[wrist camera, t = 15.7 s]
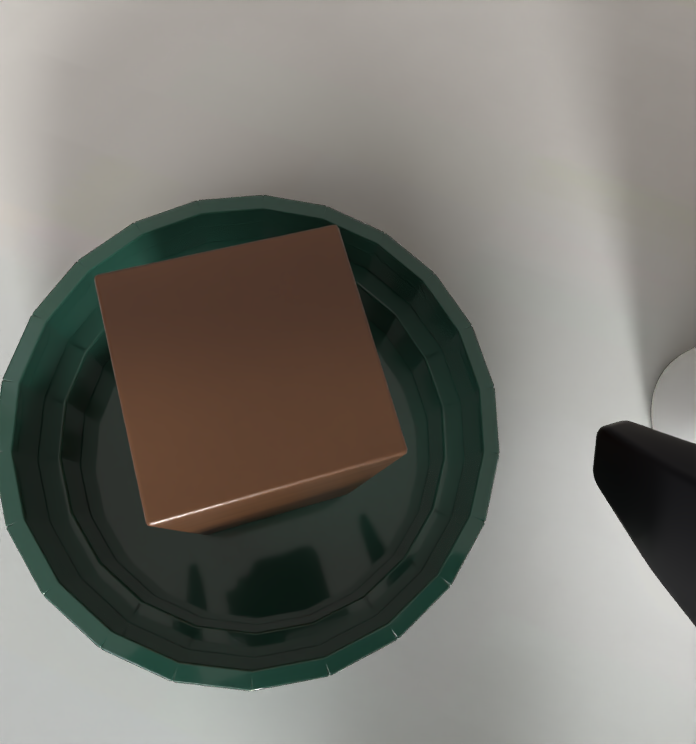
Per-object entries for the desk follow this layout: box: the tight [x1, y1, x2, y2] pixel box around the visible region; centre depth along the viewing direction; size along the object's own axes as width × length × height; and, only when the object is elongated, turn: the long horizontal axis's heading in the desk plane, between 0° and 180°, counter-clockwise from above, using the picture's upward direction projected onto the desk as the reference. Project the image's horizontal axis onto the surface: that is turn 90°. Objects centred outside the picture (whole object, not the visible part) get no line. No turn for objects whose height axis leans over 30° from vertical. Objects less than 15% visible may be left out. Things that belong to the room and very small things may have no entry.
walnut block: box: [94, 225, 407, 535], centre depth 17 cm, size 5×5×10 cm
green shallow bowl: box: [0, 195, 499, 691], centre depth 20 cm, size 14×14×4 cm
